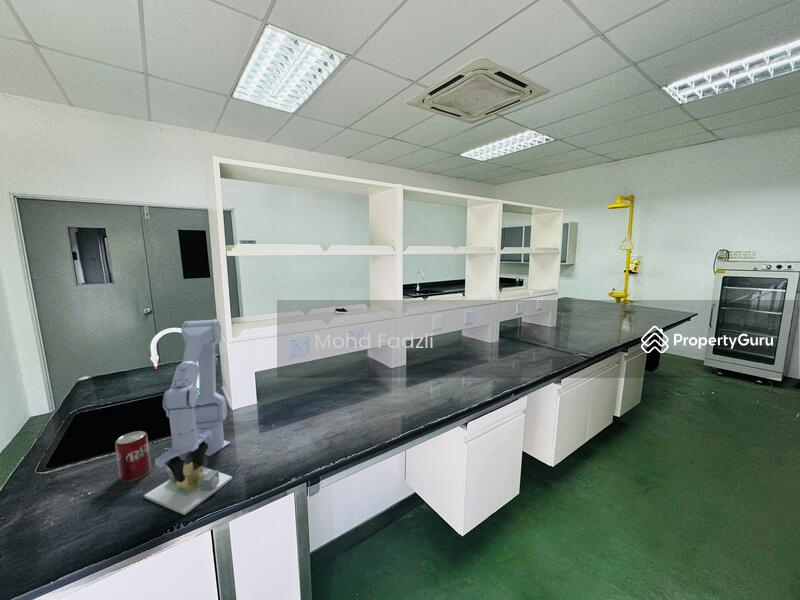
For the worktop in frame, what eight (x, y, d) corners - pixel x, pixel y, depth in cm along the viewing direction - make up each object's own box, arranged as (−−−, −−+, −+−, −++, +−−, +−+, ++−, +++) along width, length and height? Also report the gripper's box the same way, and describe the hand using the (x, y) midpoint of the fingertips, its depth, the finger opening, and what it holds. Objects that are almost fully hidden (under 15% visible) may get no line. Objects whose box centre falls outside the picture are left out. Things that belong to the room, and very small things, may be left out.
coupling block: (177, 488, 88) (175, 471, 87) (193, 478, 92) (191, 462, 91) (188, 492, 86) (186, 475, 85) (204, 481, 90) (202, 465, 89)
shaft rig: (144, 497, 86) (142, 484, 85) (194, 466, 99) (193, 454, 98) (184, 515, 80) (182, 500, 79) (232, 479, 93) (231, 466, 92)
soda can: (157, 466, 99) (152, 430, 97) (139, 482, 92) (133, 443, 90) (133, 466, 99) (128, 430, 97) (113, 483, 91) (107, 444, 90)
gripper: (165, 447, 79) (171, 497, 80) (218, 419, 92) (222, 463, 94) (147, 441, 81) (153, 489, 83) (201, 415, 95) (205, 457, 96)
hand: (188, 475), depth 89 cm, fingers closed on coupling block, 4 cm apart
